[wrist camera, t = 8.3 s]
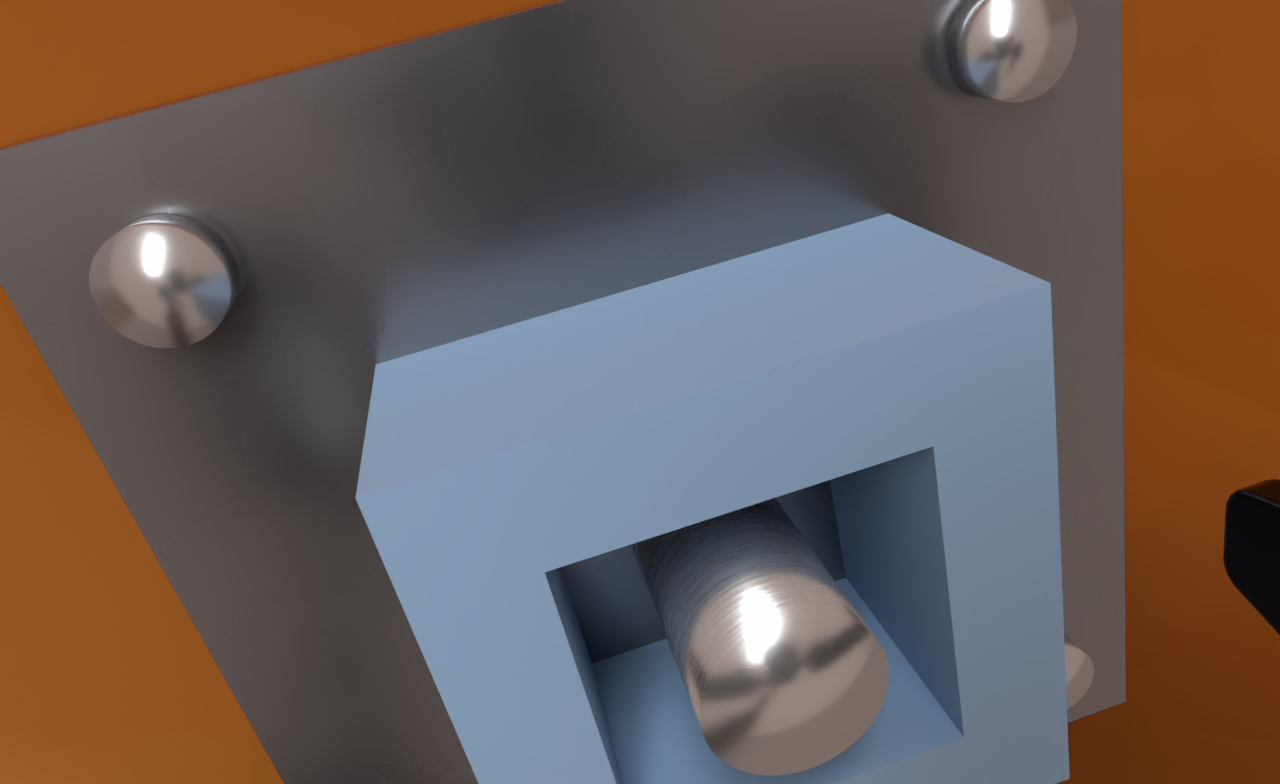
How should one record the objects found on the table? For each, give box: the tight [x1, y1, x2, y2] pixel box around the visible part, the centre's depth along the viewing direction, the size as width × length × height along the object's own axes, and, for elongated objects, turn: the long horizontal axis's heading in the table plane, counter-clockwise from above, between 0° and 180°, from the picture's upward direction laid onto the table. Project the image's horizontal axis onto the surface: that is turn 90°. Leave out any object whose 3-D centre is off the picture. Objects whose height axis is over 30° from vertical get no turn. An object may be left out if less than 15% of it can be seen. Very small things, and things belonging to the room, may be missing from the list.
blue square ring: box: [356, 213, 1070, 784], centre depth 10 cm, size 6×6×3 cm
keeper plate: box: [0, 0, 1126, 784], centre depth 10 cm, size 12×12×5 cm
